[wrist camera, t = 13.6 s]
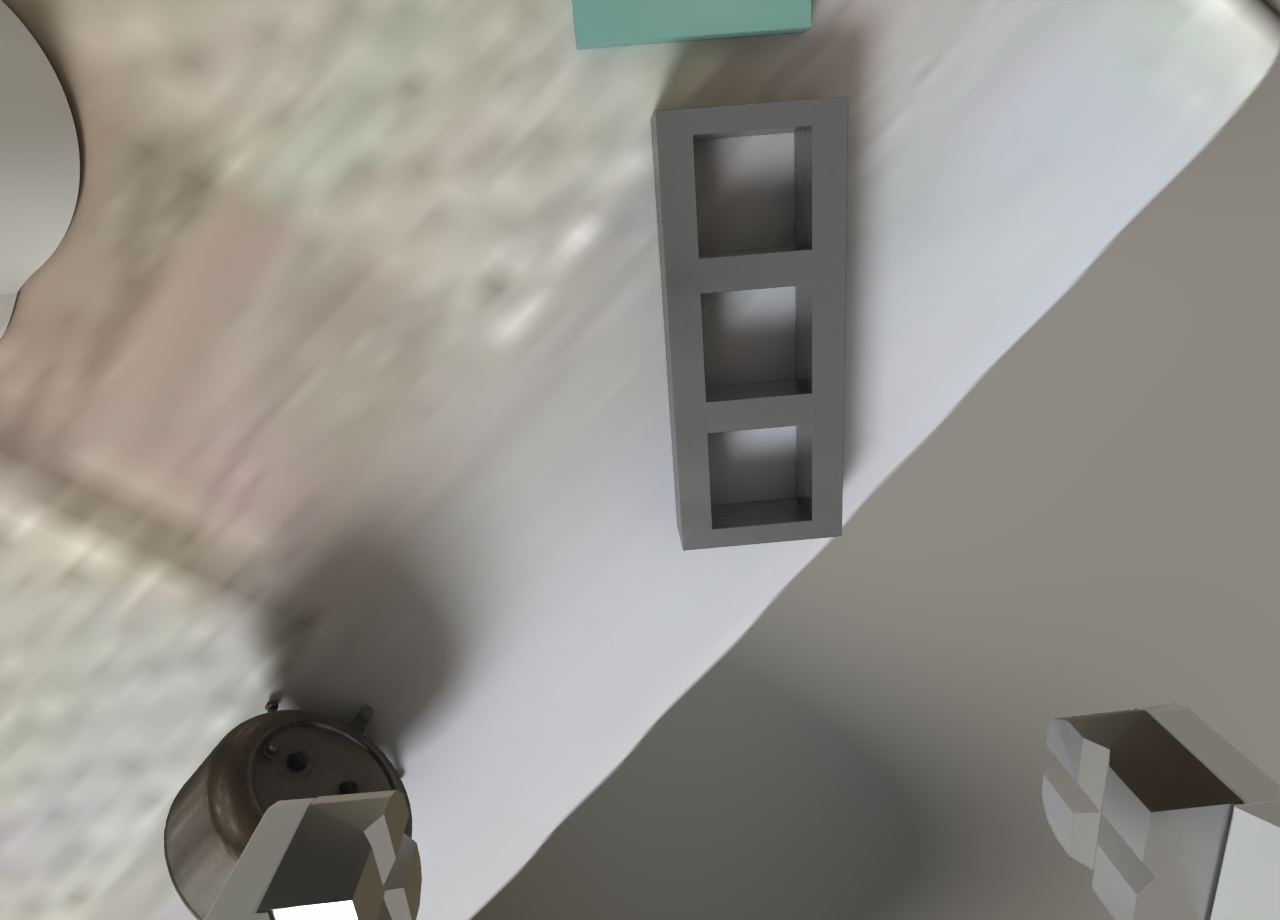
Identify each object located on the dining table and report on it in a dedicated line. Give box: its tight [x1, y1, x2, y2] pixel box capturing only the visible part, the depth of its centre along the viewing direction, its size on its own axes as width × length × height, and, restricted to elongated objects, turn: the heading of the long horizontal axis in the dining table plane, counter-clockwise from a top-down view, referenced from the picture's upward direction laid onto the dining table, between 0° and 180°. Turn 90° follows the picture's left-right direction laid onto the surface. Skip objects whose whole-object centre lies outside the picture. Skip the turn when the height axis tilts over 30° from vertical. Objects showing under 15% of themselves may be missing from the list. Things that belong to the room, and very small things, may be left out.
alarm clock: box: [164, 701, 412, 920], centre depth 35 cm, size 11×5×16 cm, turn 49°
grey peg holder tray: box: [651, 96, 848, 550], centre depth 35 cm, size 8×20×3 cm, turn 4°
